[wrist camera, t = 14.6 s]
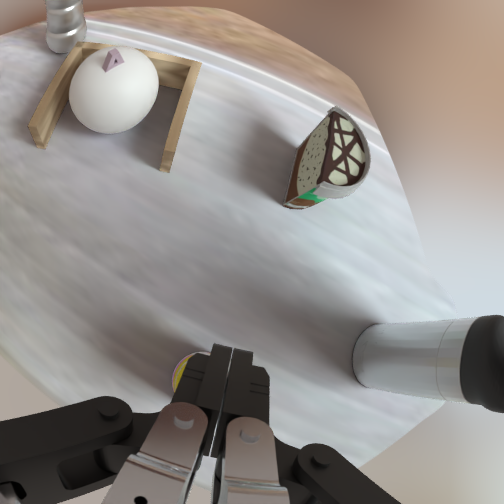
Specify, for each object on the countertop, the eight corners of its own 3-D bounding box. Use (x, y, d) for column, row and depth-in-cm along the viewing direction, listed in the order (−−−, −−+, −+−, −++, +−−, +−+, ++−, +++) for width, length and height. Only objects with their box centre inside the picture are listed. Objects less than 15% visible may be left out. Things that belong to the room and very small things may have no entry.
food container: (321, 234, 41) (370, 210, 32) (280, 216, 40) (322, 186, 30) (334, 159, 45) (376, 126, 36) (298, 141, 43) (336, 102, 34)
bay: (193, 86, 39) (202, 62, 35) (169, 172, 36) (174, 152, 31) (79, 65, 34) (77, 41, 29) (37, 147, 30) (27, 125, 26)
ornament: (124, 162, 34) (125, 98, 23) (59, 129, 32) (43, 64, 21) (167, 103, 37) (184, 37, 26) (106, 75, 35) (108, 9, 24)
